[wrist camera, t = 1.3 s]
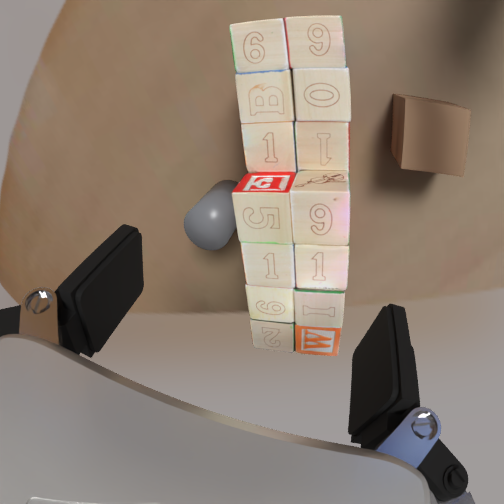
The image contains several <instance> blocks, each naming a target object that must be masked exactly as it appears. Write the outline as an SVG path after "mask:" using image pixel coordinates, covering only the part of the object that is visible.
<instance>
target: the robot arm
mask: <svg viewBox="0 0 504 504" xmlns="http://www.w3.org/2000/svg"><path fill="white" fill-rule="evenodd" d="M143 287H144V281H143V261H142V235H141V233H139V231H138V229H137V228H135V227H132V226H129V225H126V224H123V225H122V226H121V227H119V228H118V229H117V230H116V231H115V232H114V233H113V234H112V235H111V236H110V237H109V238H107V239H106V240H105V241H104V242H103V243H102V244H101V245H100V246H99V247H98V248H97V249H96V250H95V251H94V252H93V253H92V254H91V255H90V256H89V257H88V258H86V259H85V260H84V261H83V262H82V263H81V264H80V265H79V266H78V267H77V268H76V269H75V270H74V271H73V272H72V273H71V274H70V275H69V276H68V277H67V278H66V280H65V281H64V282H63V283H62V284H61V285H60V286H59V287H58V289H57V290H56V291H55V292H54V291H53V290H51V289H50V288H46V287H39V288H35V289H33V290H31V291H29V292H28V293H27V294H26V295H25V296H24V298H23V299H22V303H21V305H19V306H15V307H10V308H5V309H1V310H0V504H475V502H474V500H473V498H472V495H471V493H470V492H468V493H467V492H466V488H467V484H468V475H467V472H466V470H465V468H464V467H463V465H462V464H461V463H460V462H459V461H458V460H457V459H456V457H455V456H454V455H453V454H452V453H451V452H450V451H449V449H448V448H447V447H446V446H445V445H444V444H443V443H442V442H441V440H440V439H439V436H440V434H441V424H440V420H439V418H438V416H437V415H436V414H435V413H434V412H433V411H432V410H430V409H428V408H425V407H420V399H419V389H418V379H417V371H416V363H415V355H414V349H413V347H412V346H411V343H410V336H409V330H408V323H407V318H406V312H405V308H404V307H401V306H397V305H394V304H389V305H388V306H387V307H386V306H384V307H383V308H382V309H381V311H380V313H379V314H378V316H377V317H376V319H375V320H374V322H373V324H372V325H371V327H370V328H369V330H368V331H367V333H366V334H365V336H364V338H363V339H362V340H361V342H360V344H359V345H358V346H357V348H356V349H355V351H354V354H353V359H352V381H351V399H350V400H351V401H350V414H349V426H348V432H349V434H351V435H352V436H351V442H352V443H359V444H361V448H359V447H354V446H348V445H343V444H337V443H332V442H327V441H322V440H317V439H312V438H308V437H303V436H298V435H293V434H289V433H285V432H281V431H277V430H273V429H269V428H265V427H262V426H258V425H254V424H251V423H247V422H244V421H240V420H237V419H234V418H230V417H227V416H224V415H221V414H218V413H215V412H212V411H209V410H206V409H203V408H200V407H197V406H194V405H192V404H189V403H186V402H183V401H181V400H178V399H176V398H173V397H170V396H168V395H165V394H163V393H160V392H158V391H155V390H153V389H151V388H148V387H146V386H143V385H141V384H139V383H136V382H134V381H132V380H130V379H127V378H125V377H123V376H121V375H119V374H117V373H114V372H112V371H110V370H108V369H106V368H104V367H102V366H100V365H98V364H96V363H94V362H92V361H90V360H87V359H86V358H84V357H82V356H80V355H79V354H80V353H83V354H85V355H87V356H88V357H90V358H91V357H92V356H93V354H94V353H95V352H99V351H100V350H101V348H102V347H103V346H104V344H105V343H106V341H107V340H108V339H109V337H110V336H111V334H112V333H113V331H114V330H115V329H116V327H117V326H118V324H119V323H120V321H121V320H122V319H123V317H124V316H125V315H126V313H127V312H128V311H129V309H130V308H131V306H132V305H133V304H134V302H135V301H136V300H137V298H138V297H139V296H140V294H141V293H142V290H143Z"/></svg>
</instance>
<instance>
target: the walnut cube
mask: <svg viewBox="0 0 504 504" xmlns="http://www.w3.org/2000/svg"><path fill="white" fill-rule="evenodd" d="M470 117H471V110H469V109H467V108H464V107H461V106H458V105H455V104H452V103H449V102H445V101H439V100H433V99H428V98H421V97H415V96H408V95H400V94H393V121H392V141H391V152H392V154H393V156H394V157H395V159H396V161H397V162H398V164H399V166H400V167H401V169H409V170H418V171H426V172H433V173H440V174H447V175H454V176H460V177H463V176H464V170H465V163H466V156H467V148H468V139H469V129H470Z"/></svg>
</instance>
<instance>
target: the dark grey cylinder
mask: <svg viewBox="0 0 504 504" xmlns="http://www.w3.org/2000/svg"><path fill="white" fill-rule="evenodd" d="M237 185H238V182H236V181H232V180H223V181H220V182H218V183H217V184H215V185H214V186H213V187H212V188H211V189H210V190H209V191H208V192H207V193H206V194H205V195H204V196H203V198H202V199H201V200H200V201H199V202H198V203H197V204H196V205H195V206H194V207H193V208H192V209H191V210H190V211H189V212H188V213H187V214H186V216H185V219H184V229H185V232H186V234H187V236H188V237H189V239H190V240H191V241H192V242H193V243H194V244H195V245H197V246H198V247H200V248H203V249H206V250H217V249H220V248H222V247H223V246H225V245H226V244H227V242H228V240H229V239H230V237H231V236H232V234H233V232H234V231H235V229H236V228H237V225H236V218H235V212H234V206H233V199H232V191H233V190H234V188H235V187H236V186H237Z"/></svg>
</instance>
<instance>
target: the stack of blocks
mask: <svg viewBox="0 0 504 504" xmlns="http://www.w3.org/2000/svg"><path fill="white" fill-rule="evenodd" d="M230 35H231V43H232V50H233V59H234V65H235V70H236V75H235V81H236V89H237V97H238V104H239V112H240V121H241V132H242V140H243V147H244V154H245V162H246V167H247V170H248V174H246V175H245V176H244V177H243V178H242V180H241V181H240V182H239V183H238V185H237V186H236V187H235V188H234V190H233V191H232V199H233V206H234V212H235V218H236V225H237V232H238V239H239V241H240V242H241V251H242V258H243V264H244V271H245V278H246V283H245V287H246V295H247V301H248V308H249V315H250V326H251V334H252V341H253V346H254V348H258V349H266V350H274V351H283V352H289V353H293V352H294V351H296V352H297V353H301V354H313V355H327V356H337V355H338V351H339V343H340V336H341V327H342V324H343V313H344V300H345V289H347V283H348V268H349V236H350V195H351V194H350V179H349V170H350V168H349V162H350V131H349V123H350V121H351V92H350V75H349V69H348V67H347V66H346V56H345V43H344V30H343V23H342V17H341V16H298V17H286V18H282V19H268V20H259V21H252V22H244V23H237V24H231V25H230Z"/></svg>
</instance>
